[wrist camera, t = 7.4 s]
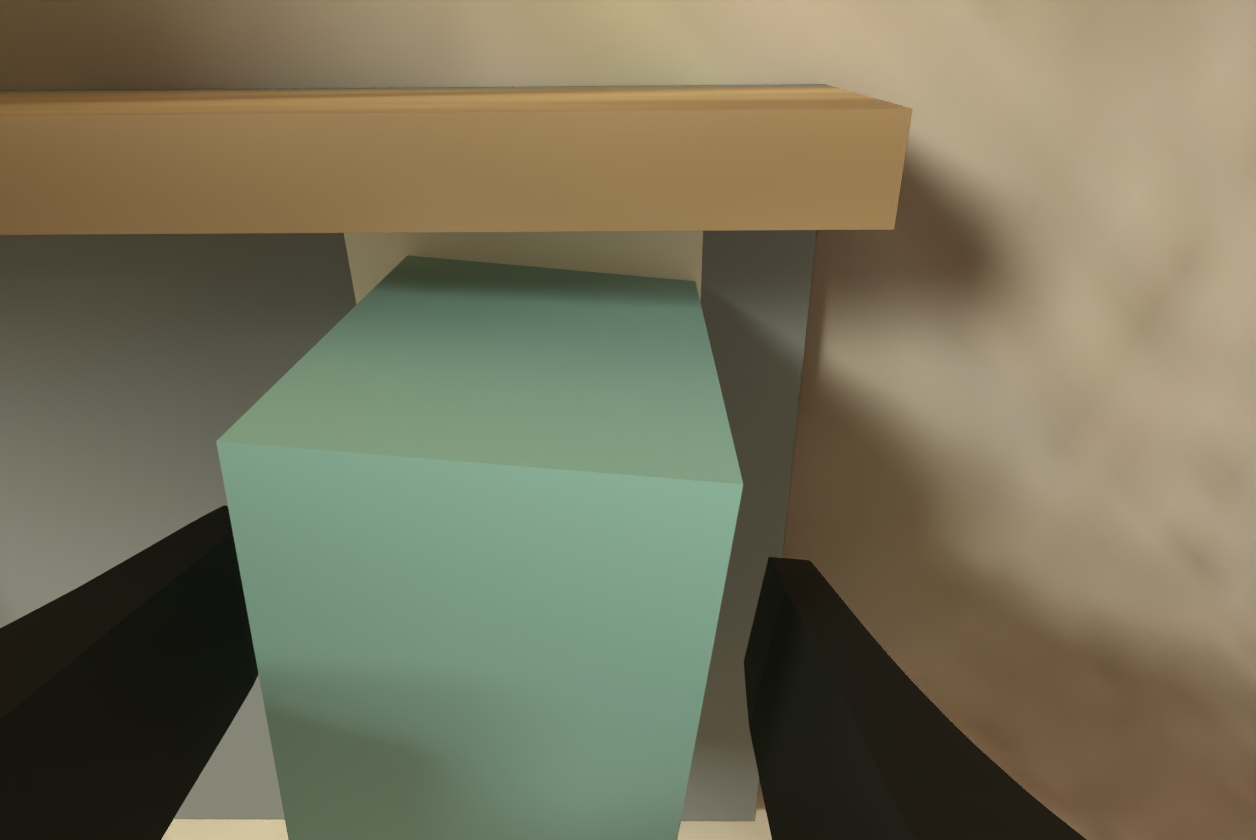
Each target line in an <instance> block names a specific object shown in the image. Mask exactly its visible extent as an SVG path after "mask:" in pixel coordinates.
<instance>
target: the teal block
mask: <svg viewBox="0 0 1256 840" xmlns="http://www.w3.org/2000/svg"><path fill="white" fill-rule="evenodd" d="M216 443H217V449H218V454H219V460H220V465H221V471H222V476H223V482H224V487H225V493H226V498H227V504H228V509H229V515H230V520H231V526H232V531H233V537H234V542H235V548H236V553H237V559H238V564H239V570H240V575H241V581H242V586H243V592H244V597H245V602H246V608H247V613H248V619H249V624H250V630H251V635H252V641H253V646H254V652H255V657H256V663H257V668H258V674H259V679H260V685H261V690H262V696H263V701H264V707H265V712H266V718H267V723H268V729H269V734H270V740H271V745H272V751H273V756H274V762H275V767H276V773H277V778H278V784H279V789H280V794H281V800H282V805H283V811H284V816H285V822H286V827H287V833H288V838H289V840H677V838H678V832H679V827H680V822H681V816H682V811H683V806H684V800H685V795H686V789H687V784H688V779H689V773H690V768H691V763H692V757H693V752H694V747H695V741H696V736H697V730H698V725H699V720H700V714H701V709H702V704H703V698H704V693H705V687H706V682H707V677H708V671H709V666H710V661H711V655H712V650H713V645H714V639H715V634H716V628H717V623H718V618H719V612H720V607H721V602H722V596H723V591H724V586H725V580H726V575H727V569H728V564H729V559H730V553H731V548H732V543H733V537H734V532H735V527H736V521H737V516H738V510H739V505H740V500H741V494H742V489H743V481H742V477H741V472H740V468H739V464H738V460H737V455H736V451H735V447H734V443H733V438H732V434H731V430H730V426H729V422H728V417H727V413H726V409H725V405H724V400H723V396H722V392H721V388H720V383H719V379H718V375H717V371H716V367H715V362H714V358H713V354H712V350H711V345H710V341H709V337H708V333H707V328H706V324H705V320H704V316H703V312H702V307H701V303H700V299H699V295H698V290H697V286H696V282H695V281H688V280H676V279H665V278H654V277H643V276H632V275H621V274H610V273H598V272H587V271H576V270H565V269H554V268H543V267H532V266H520V265H509V264H498V263H487V262H476V261H465V260H454V259H442V258H431V257H420V256H409V255H407V256H406V257H405V258H404V259H403V260H402V261H401V262H400V263H399V264H398V265H397V266H396V267H395V268H394V269H393V270H392V271H391V272H390V273H389V274H388V275H387V276H386V277H385V278H384V279H382V280H381V281H380V282H379V283H378V284H377V285H376V286H375V287H374V288H373V289H372V290H371V291H370V292H369V293H368V294H367V295H366V296H365V297H364V298H363V299H362V300H361V301H360V302H359V303H358V304H357V305H356V306H355V307H354V308H353V309H352V310H351V311H350V312H349V313H348V314H347V315H346V316H344V317H343V318H342V319H341V320H340V321H339V322H338V323H337V324H336V325H335V326H334V327H333V328H332V329H331V330H330V331H329V332H328V333H327V334H326V335H325V336H324V337H323V338H322V339H321V340H320V341H319V342H318V343H317V344H316V345H315V346H314V347H313V348H312V349H311V350H310V351H309V352H308V353H307V354H305V355H304V356H303V357H302V358H301V359H300V360H299V361H298V362H297V363H296V364H295V365H294V366H293V367H292V368H291V369H290V370H289V371H288V372H287V373H286V374H285V375H284V376H283V377H282V378H281V379H280V380H279V381H278V382H277V383H276V384H275V385H274V386H273V387H272V388H271V389H270V390H269V391H268V392H266V393H265V394H264V395H263V396H262V397H261V398H260V399H259V400H258V401H257V402H256V403H255V404H254V405H253V406H252V407H251V408H250V409H249V410H248V411H247V412H246V413H245V414H244V415H243V416H242V417H241V418H240V419H239V420H238V421H237V422H236V423H235V424H234V425H233V426H232V427H231V428H230V429H229V430H227V431H226V432H225V433H224V434H223V435H222V436H221V437H220V438H219V439H218V440H217V441H216Z"/></svg>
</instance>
